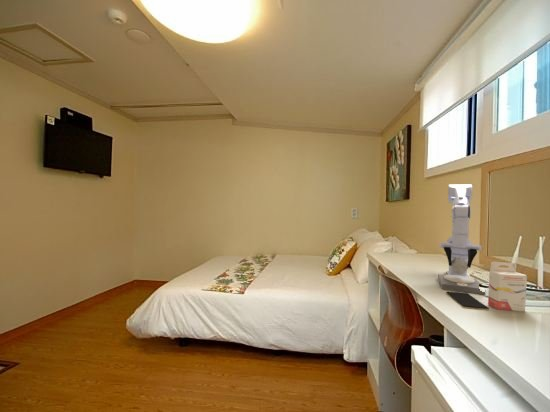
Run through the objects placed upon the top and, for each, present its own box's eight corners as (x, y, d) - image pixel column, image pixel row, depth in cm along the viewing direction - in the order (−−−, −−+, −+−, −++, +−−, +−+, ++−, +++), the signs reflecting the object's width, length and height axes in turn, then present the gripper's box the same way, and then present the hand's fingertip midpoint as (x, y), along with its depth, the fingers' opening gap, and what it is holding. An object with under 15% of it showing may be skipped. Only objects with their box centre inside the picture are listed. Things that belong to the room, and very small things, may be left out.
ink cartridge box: (497, 310, 90) (499, 264, 89) (487, 304, 95) (489, 261, 94) (526, 311, 89) (528, 265, 89) (514, 305, 94) (516, 262, 94)
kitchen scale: (437, 278, 125) (438, 272, 125) (475, 283, 119) (475, 276, 119) (442, 288, 111) (442, 281, 111) (485, 294, 105) (485, 287, 105)
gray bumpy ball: (460, 273, 120) (464, 257, 120) (469, 277, 113) (473, 261, 113) (445, 270, 121) (449, 254, 120) (454, 274, 114) (458, 257, 113)
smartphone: (464, 306, 91) (445, 291, 105) (464, 309, 91) (445, 294, 105) (489, 308, 89) (467, 292, 104) (489, 311, 89) (467, 295, 104)
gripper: (441, 233, 116) (440, 266, 116) (483, 236, 109) (482, 270, 110) (439, 232, 122) (438, 262, 122) (479, 234, 116) (478, 266, 116)
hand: (459, 266), depth 116 cm, fingers closed on gray bumpy ball, 6 cm apart
